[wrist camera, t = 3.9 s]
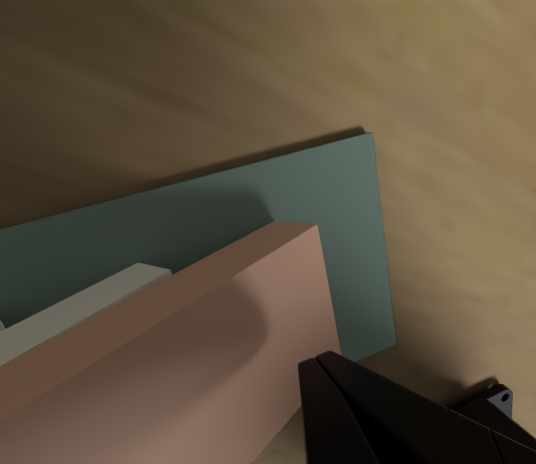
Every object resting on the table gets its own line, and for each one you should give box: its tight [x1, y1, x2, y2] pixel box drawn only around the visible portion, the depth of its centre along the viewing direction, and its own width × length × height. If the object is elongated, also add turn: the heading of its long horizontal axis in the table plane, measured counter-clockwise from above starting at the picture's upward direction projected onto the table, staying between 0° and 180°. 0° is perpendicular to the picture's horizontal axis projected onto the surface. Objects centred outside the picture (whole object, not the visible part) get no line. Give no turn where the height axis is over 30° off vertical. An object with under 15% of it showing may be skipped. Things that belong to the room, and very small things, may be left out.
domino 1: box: [0, 263, 172, 367], centre depth 7 cm, size 5×2×8 cm
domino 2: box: [0, 221, 342, 464], centre depth 8 cm, size 5×2×8 cm
